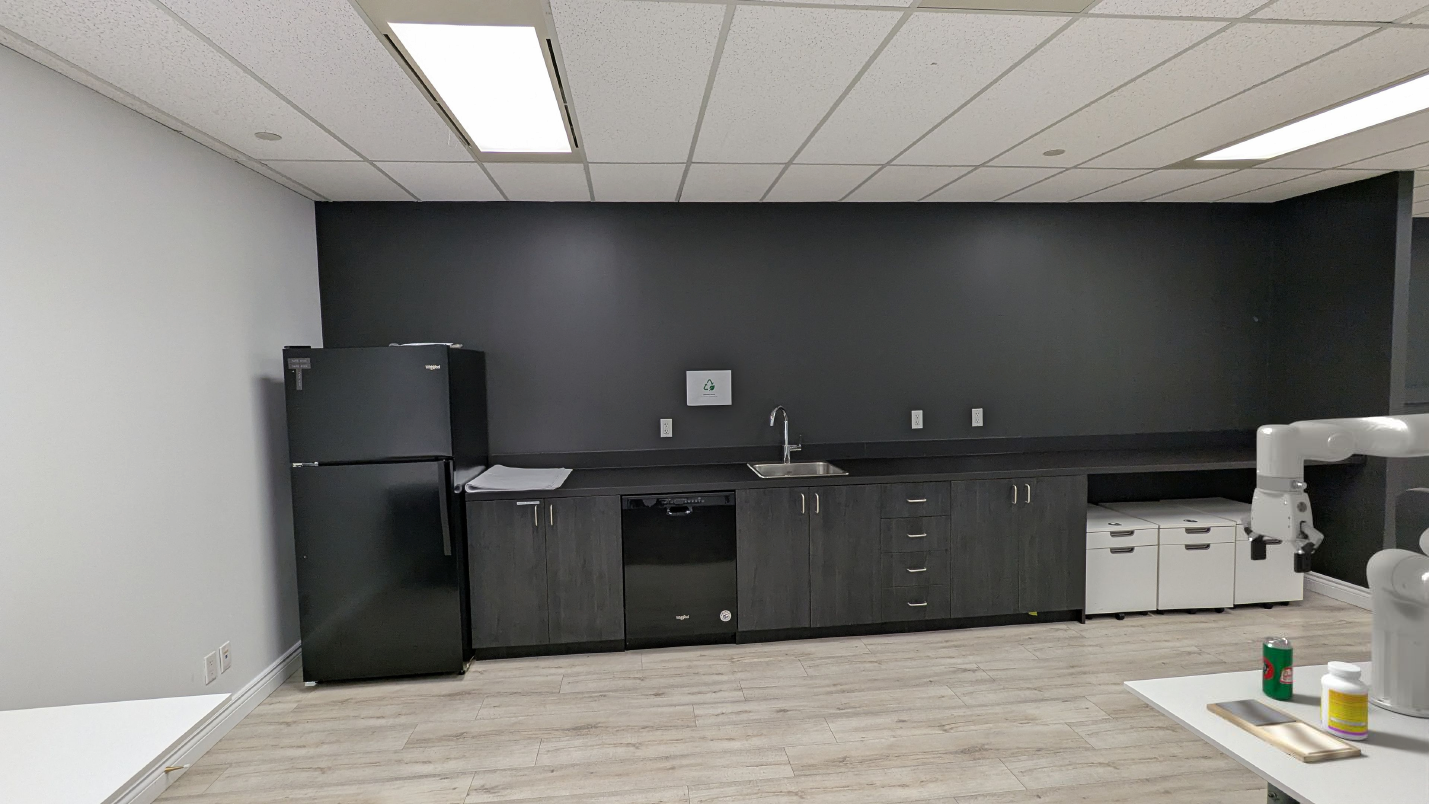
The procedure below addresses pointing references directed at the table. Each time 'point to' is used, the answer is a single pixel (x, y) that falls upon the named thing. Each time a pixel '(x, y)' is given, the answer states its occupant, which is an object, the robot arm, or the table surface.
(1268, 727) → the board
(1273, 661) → the soda can
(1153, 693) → the table surface
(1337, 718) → the supplement bottle
